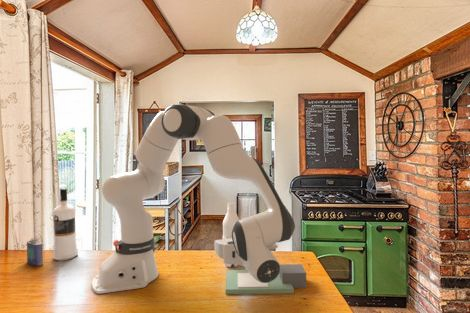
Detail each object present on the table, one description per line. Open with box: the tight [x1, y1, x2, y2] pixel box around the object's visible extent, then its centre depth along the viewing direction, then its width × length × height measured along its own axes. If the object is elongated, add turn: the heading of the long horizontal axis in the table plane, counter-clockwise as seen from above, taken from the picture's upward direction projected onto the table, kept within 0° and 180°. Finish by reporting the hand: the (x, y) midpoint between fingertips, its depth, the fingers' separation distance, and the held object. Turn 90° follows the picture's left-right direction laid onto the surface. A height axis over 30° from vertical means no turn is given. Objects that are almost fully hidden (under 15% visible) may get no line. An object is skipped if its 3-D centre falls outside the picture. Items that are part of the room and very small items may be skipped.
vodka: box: [52, 188, 79, 261], centre depth 125 cm, size 9×9×30 cm
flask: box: [26, 237, 44, 267], centre depth 119 cm, size 9×3×11 cm, turn 61°
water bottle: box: [222, 201, 240, 268], centre depth 115 cm, size 7×7×25 cm
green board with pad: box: [225, 263, 307, 295], centre depth 100 cm, size 27×14×5 cm, turn 90°
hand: (238, 237), depth 106 cm, fingers open, 8 cm apart
